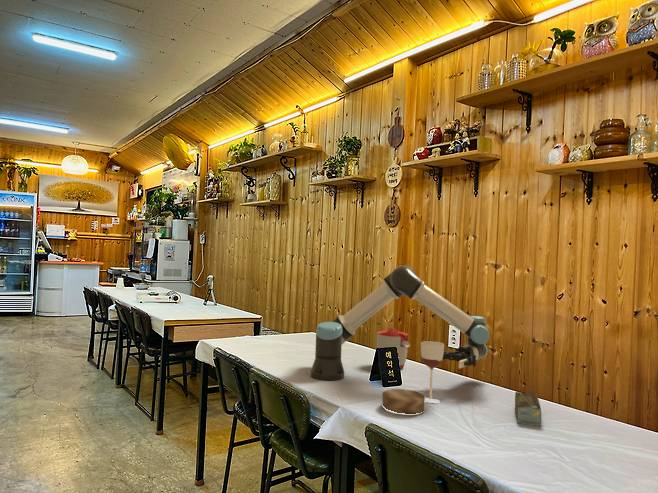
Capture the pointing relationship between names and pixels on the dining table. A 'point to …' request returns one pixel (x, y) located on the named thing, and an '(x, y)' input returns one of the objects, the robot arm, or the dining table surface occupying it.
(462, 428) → the dining table surface
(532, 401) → the weathered grey-green block
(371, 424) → the dining table surface
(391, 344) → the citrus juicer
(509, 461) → the dining table surface
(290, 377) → the dining table surface
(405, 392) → the walnut stand
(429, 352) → the wineglass
